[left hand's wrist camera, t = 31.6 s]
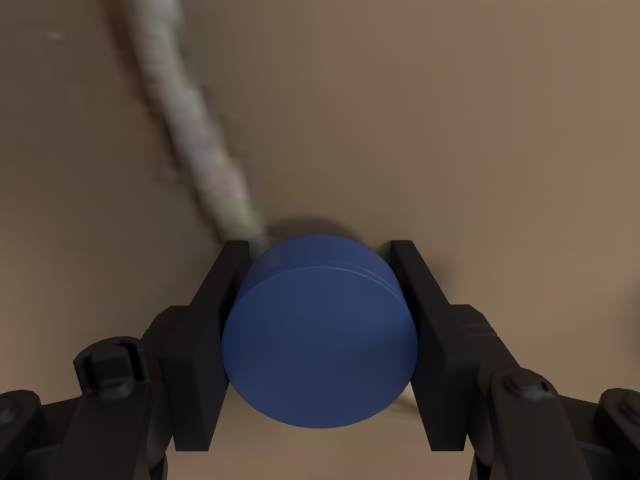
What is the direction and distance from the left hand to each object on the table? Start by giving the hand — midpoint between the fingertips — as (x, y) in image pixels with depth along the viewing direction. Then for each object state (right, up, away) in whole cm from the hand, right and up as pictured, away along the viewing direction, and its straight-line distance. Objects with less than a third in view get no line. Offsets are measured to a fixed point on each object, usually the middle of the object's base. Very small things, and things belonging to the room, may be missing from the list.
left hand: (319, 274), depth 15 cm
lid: (0, -2, -4) cm, 4 cm away
